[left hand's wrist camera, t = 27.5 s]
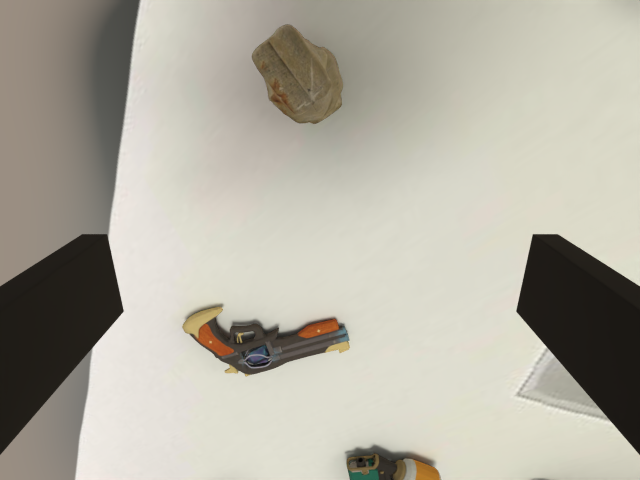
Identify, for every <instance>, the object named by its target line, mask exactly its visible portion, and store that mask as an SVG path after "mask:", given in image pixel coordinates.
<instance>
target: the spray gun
mask: <svg viewBox="0 0 640 480" xmlns="http://www.w3.org/2000/svg"><path fill="white" fill-rule="evenodd" d="M374 457H375V458H374ZM372 458H374V460H371V459H372ZM367 459H368V461H367ZM350 460H356V462H351V463H350V464H349V461H350ZM347 468H348V472H349V477H350V480H393V479H394V480H441V477H440V474H439V472H438V470H437V469H436V468H435V467H432V466H429V465H427V464H424V463H422V462H419V461H416V460H414V459H406V458H405V459H404V460H398V461H396V462H395V463H394V462H392V461H390V460H387V459H385V458H383V457H381V456H378V454H375V453H374V454H373V455H371V456H358V457H349V458H348V459H347ZM392 474H393V479H392V478H391V476H390V475H392Z"/></svg>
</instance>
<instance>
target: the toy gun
mask: <svg viewBox="0 0 640 480" xmlns="http://www.w3.org/2000/svg"><path fill="white" fill-rule="evenodd" d="M222 310H223V309H222V308H221V307H215V308H211V309H207V310H203V311H200V312H198V313H196V314H194V315H192V316H190V317H189V318H188V319H187V320H186V321H185V323H184V324H183V326H182V327H183V330H184V331H185V333H188V334H190V335H191V336H192V337H193V338H194V339H195V340H196V341H197V342H198V343H199V344H200V345H202V346H203V347H205V348H206V349H207V350H209V351H210V352H212V353H213V354H214V355H215V357H216V358H219V359H220V360H221V361H222V362H225V363H227V364H229V366H230V368H229V369H227V370H225V373H238V371H241V372H243V373H245V376H249V375H252V374H256V373H260V372H264V371H267V370H270V369H274V368H276V367H278V366H280V365H283V364H285V363H287V362H289V361H293V360H297V359H300V358H304V357H308V356H312V355H316V354H320V353H326V352H330V351H334V350H338V349H339V352H340V353H342V352H344V351H346V350H348V349H349V348H350V346H349V342H348V341H349V337H348V333H346V329H345V326H344V327H342V326H338V322H337V320H336V319H332V320H328V321H324V322H320V323H316V324H311V325H308V326H307V327H305V328H304V329H303V330H301V331H300V332H298V333H297V334H294V335H290V336H286V337H277V334H278V331H279V328H277V329H275V330H274V331H272V332H270V333H267V334H264V333H263V330H262V328H261V326H259V325H258V324H252V325H248V326H232V327H231V328H230V334H231V337H230V338H227V337H226V336H225V335H224V334H223V333H222V332H221V331H220V330H219V329H218V327H217V325H216V320H215V317H216V316H217V315H218V314H219V313H221V312H222ZM250 331H254V332H255V337H254V338H251V339H247V340H243V341H242V339H241V335H243V334H244V333H243V332H250ZM236 332H239V333H238V336H239V339H240V341H238V336H237V341H236V340H235V337H234V333H236ZM265 344H266V346H267V347H266V346H265ZM253 348H255V349H254V350H253V351H251V352H250V353H249V354H248V356H247V357H246V355H247V353H248V351H249V350H250V349H253ZM246 350H247V352H246V354H244V351H246ZM270 357H272V358H273V359H272V360H270V361H268V359H269V358H270ZM247 361H248V362H251V363H253V365H252V364H248V362H247ZM258 363H260V364H258Z"/></svg>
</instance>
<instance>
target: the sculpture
mask: <svg viewBox="0 0 640 480" xmlns="http://www.w3.org/2000/svg"><path fill="white" fill-rule="evenodd" d="M252 59H253V62H254V64H255V65H256V67H257V69H258V70H259V72H260V73H261V74H262V76H263V77H264V79H265V82H266V86H267V90H268V97H269V100H270V101H272V103H273V104H274V105H275V106H277V107H278V108H279V109H280V110H281V111H282V112H283V113H284V114H285V115H287V116H289V117H290V118H291V119H293V120H294V121H295V122H297V123H308V122H310V123H312V124H316V123H318V122H320V121H322V120H323V119H325V118H327V117H328V116H330V115H331V114H332V113H334V112H335V111H336V110H338V109H339V108H340V107H341V105H342V100H341V91H342V88H343V82H342V78H341V75H340V72H339V68H338V65H337V62H336V59H335V57H334V55H333V54H332V53H331V52H330V51H328V50H327V49H326V48H324V47H320V48H319V47H317V46H315V45H313V44H312V43H310V42H309V41H308V40H307V39H304V37H303V36H302V35H301V34H300V32H299V31H298V30H296V29H295V28H294V27H293V26H291V25H289V24H288V25H284V26H282V27H280V28H278V29H277V30H276V32H275V33H274V34H273V35H272V36H271V37H270V38H269V39H267V40H266V41H265V42H263V43H262V44H261V45H259V46H258V47H257V48H256V49H255V51H254V52H253V54H252Z"/></svg>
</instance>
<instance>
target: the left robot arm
mask: <svg viewBox="0 0 640 480" xmlns="http://www.w3.org/2000/svg"><path fill="white" fill-rule="evenodd" d="M123 312H124V311H123V306H122V301H121V297H120V292H119V287H118V283H117V278H116V273H115V269H114V264H113V260H112V255H111V250H110V246H109V241H108V236H107V234H82V235H81V236H79V237H77V238H76V239H74V240H73V241H71V242H69V243H68V244H66V245H65V246H63V247H62V248H60V249H58V250H57V251H55V252H54V253H52V254H51V255H49V256H47V257H46V258H44V259H43V260H41V261H40V262H38V263H36V264H35V265H33V266H32V267H30V268H28V269H27V270H25V271H24V272H22V273H21V274H19V275H17V276H16V277H14V278H13V279H11V280H10V281H8V282H6V283H5V284H3V285H2V286H0V454H1V453H2V452H3V451H4V450H5V449H6V447H7V446H8V445H9V444H10V443H11V442H12V440H13V439H14V438H15V437H16V436H17V435H18V434H19V432H20V431H21V430H22V429H23V428H24V427H25V425H26V424H27V423H28V422H29V421H30V420H31V418H32V417H33V416H34V415H35V414H36V413H37V411H38V410H39V409H40V408H41V407H42V406H43V404H44V403H45V402H46V401H47V400H48V399H49V398H50V396H51V395H52V394H53V393H54V392H55V391H56V389H57V388H58V387H59V386H60V385H61V384H62V382H63V381H64V380H65V379H66V378H67V377H68V375H69V374H70V373H71V372H72V371H73V370H74V368H75V367H76V366H77V365H78V364H79V363H80V362H81V360H82V359H83V358H84V357H85V356H86V355H87V353H88V352H89V351H90V350H91V349H92V348H93V346H94V345H95V344H96V343H97V342H98V341H99V339H100V338H101V337H102V336H103V335H104V334H105V333H106V331H107V330H108V329H109V328H110V327H111V326H112V324H113V323H114V322H115V321H116V320H117V319H118V317H119V316H120V315H121V314H122V313H123ZM516 312H517V313H518V314H519V315H520V316H521V317H522V319H523V320H524V321H525V322H526V323H527V324H528V326H529V327H530V328H531V329H532V330H533V331H534V333H535V334H536V335H537V336H538V337H539V338H540V339H541V341H542V342H543V343H544V344H545V345H546V346H547V348H548V349H549V350H550V351H551V352H552V353H553V355H554V356H555V357H556V358H557V359H558V360H559V362H560V363H561V364H562V365H563V366H564V367H565V369H566V370H567V371H568V372H569V373H570V374H571V375H572V377H573V378H574V379H575V380H576V381H577V382H578V384H579V385H580V386H581V387H582V388H583V389H584V391H585V392H586V393H587V394H588V395H589V396H590V398H591V399H592V400H593V401H594V402H595V403H596V405H597V406H598V407H599V408H600V409H601V410H602V411H603V413H604V414H605V415H606V416H607V417H608V418H609V420H610V421H611V422H612V423H613V424H614V425H615V427H616V428H617V429H618V430H619V431H620V432H621V434H622V435H623V436H624V437H625V438H626V439H627V440H628V442H629V443H630V444H631V445H632V446H633V447H634V449H635V450H636V451H637V452H638V453H639V454H640V286H638V285H637V284H635V283H634V282H632V281H630V280H629V279H627V278H626V277H624V276H623V275H621V274H619V273H618V272H616V271H615V270H613V269H612V268H610V267H608V266H607V265H605V264H604V263H602V262H601V261H599V260H597V259H596V258H594V257H593V256H591V255H589V254H588V253H586V252H585V251H583V250H582V249H580V248H578V247H577V246H575V245H574V244H572V243H571V242H569V241H567V240H566V239H564V238H563V237H561V236H560V235H558V234H533V236H532V241H531V246H530V250H529V255H528V260H527V264H526V269H525V273H524V278H523V283H522V287H521V292H520V297H519V301H518V306H517V311H516Z"/></svg>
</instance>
